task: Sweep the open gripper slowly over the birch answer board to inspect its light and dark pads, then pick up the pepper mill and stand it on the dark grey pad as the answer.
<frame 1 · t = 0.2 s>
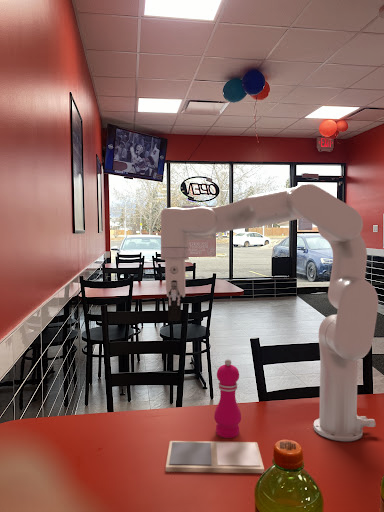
hand: (174, 317, 111), 31 cm above the table, tool pointing down, fingers open, 9 cm apart
answer board: (214, 458, 98), on the table
pepper mill: (227, 433, 111), on the table
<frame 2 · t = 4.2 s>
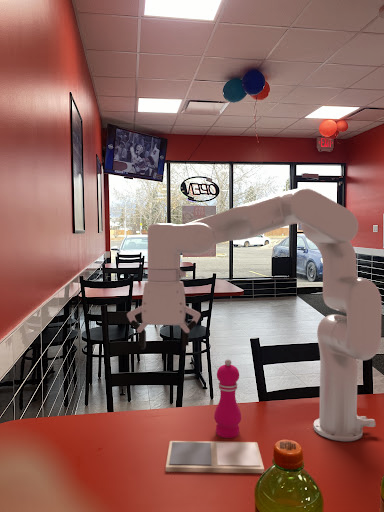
hand: (163, 348, 97), 26 cm above the table, tool pointing down, fingers open, 9 cm apart
nothing on the table moved.
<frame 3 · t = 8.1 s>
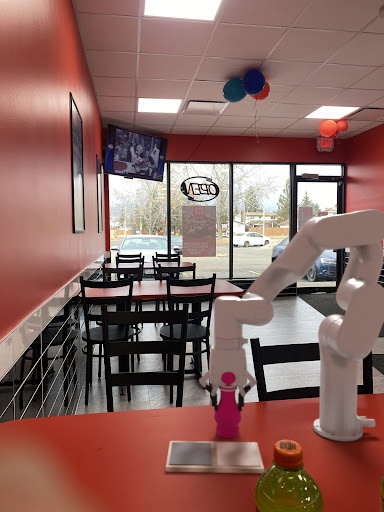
hand: (227, 408, 111), 7 cm above the table, tool pointing down, fingers closed on pepper mill, 5 cm apart
pepper mill: (227, 433, 111), on the table, touching gripper
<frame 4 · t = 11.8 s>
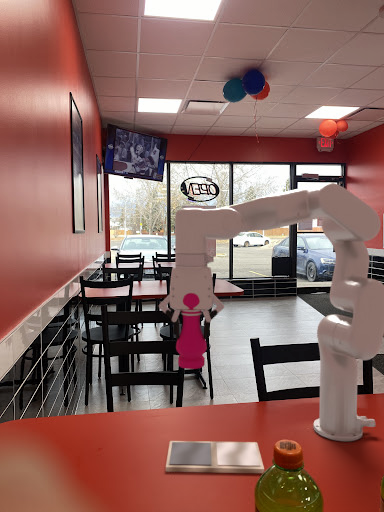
hand: (191, 337, 97), 29 cm above the table, tool pointing down, fingers closed on pepper mill, 5 cm apart
pepper mill: (191, 365, 97), point 22 cm above the table, touching gripper
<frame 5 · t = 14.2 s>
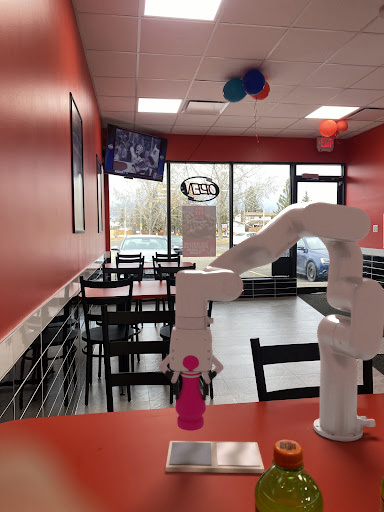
hand: (190, 397, 97), 15 cm above the table, tool pointing down, fingers closed on pepper mill, 5 cm apart
pepper mill: (190, 425, 98), point 8 cm above the table, touching gripper
when the fingers open (9 cm above the table, at t = 15.9 s): pepper mill stays where it is, resting on answer board.
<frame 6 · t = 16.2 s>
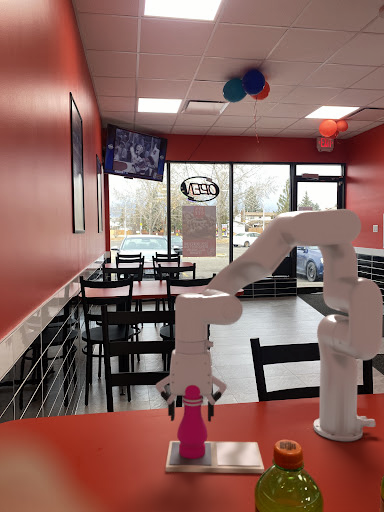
hand: (191, 418, 98), 10 cm above the table, tool pointing down, fingers open, 8 cm apart
pepper mill: (192, 453, 98), point 1 cm above the table, touching answer board
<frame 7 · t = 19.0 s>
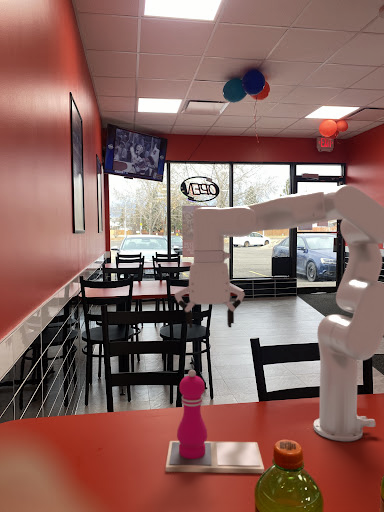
hand: (210, 326, 102), 30 cm above the table, tool pointing down, fingers open, 9 cm apart
nothing on the table moved.
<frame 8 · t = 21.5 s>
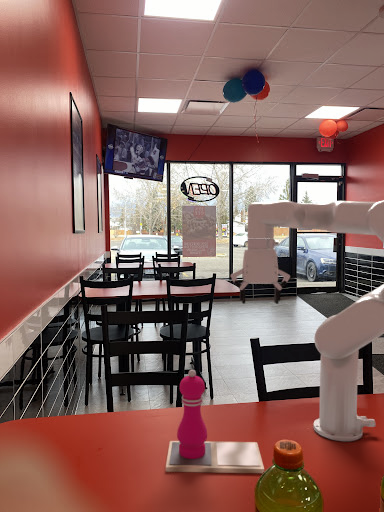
hand: (259, 303, 121), 33 cm above the table, tool pointing down, fingers open, 9 cm apart
nothing on the table moved.
at the end: pepper mill inside the target area on the answer board (0.3 cm from its centre), point 1.0 cm above the answer board's base; pepper mill tilted 0°; the gripper is holding nothing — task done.
